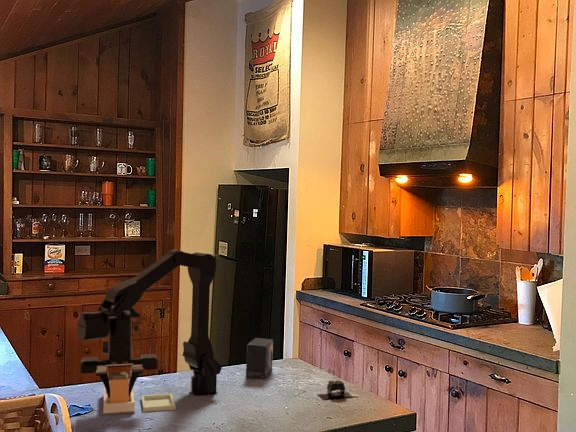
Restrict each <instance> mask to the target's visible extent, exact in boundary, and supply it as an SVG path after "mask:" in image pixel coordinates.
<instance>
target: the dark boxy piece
mask: <svg viewBox="0 0 576 432" xmlns="http://www.w3.org/2000/svg"><path fill="white" fill-rule="evenodd" d="M326 388H327V389H326V390H327V391H326V392H327V393H320V394H319V393H318V394H317V393H316V396H317V397H318V398H319V399H321V400H322V401H335V400H336V401H337V400H347V399H355V397H354V396H353V395H352V394H350V393H349V392H347V391H346V387H345V383H344V382H343V381H342V380H335V381H334V380H328V384H327V386H326Z"/></svg>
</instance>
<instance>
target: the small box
mask: <svg viewBox="0 0 576 432" xmlns="http://www.w3.org/2000/svg"><path fill="white" fill-rule="evenodd" d="M273 352H274V339H271V338H262V337H261V338H260V337H255V338H253V339H252V340H251V341H249V343H247V345H246V367H245V368H246V369H245V378H247V379H249V378H251V379H259V380H260V379H261V380H265V379H266V378H267V377H268V376H269V375H270V373H271V372H273V357H274V354H273Z"/></svg>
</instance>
